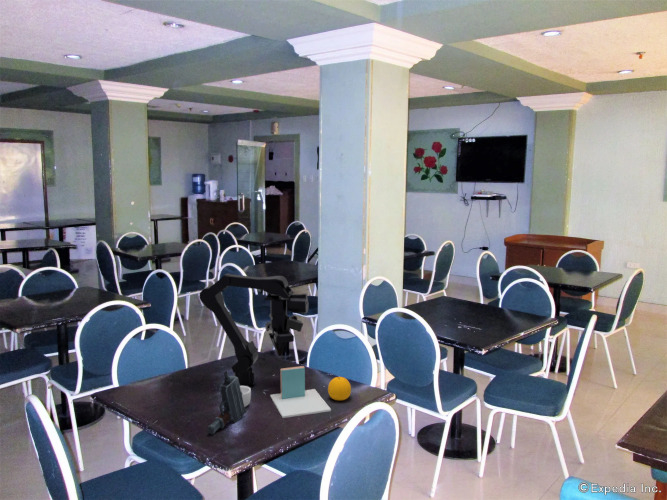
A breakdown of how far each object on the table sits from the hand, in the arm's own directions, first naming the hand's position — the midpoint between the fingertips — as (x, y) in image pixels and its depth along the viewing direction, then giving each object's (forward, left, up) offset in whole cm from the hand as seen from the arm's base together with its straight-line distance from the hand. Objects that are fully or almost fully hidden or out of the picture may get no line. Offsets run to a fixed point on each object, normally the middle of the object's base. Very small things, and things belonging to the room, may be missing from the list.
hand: (279, 355), depth 193 cm
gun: (-22, -24, -12) cm, 35 cm away
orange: (+17, -16, -12) cm, 27 cm away
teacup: (-17, -12, -12) cm, 24 cm away
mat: (+3, -16, -12) cm, 20 cm away
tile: (+2, -11, -11) cm, 16 cm away
